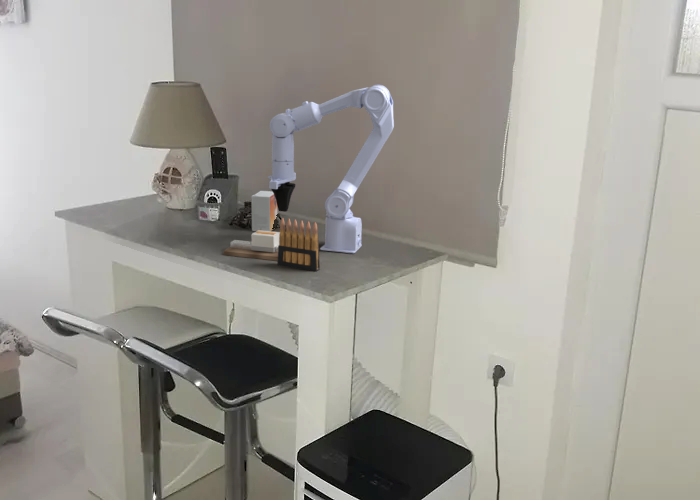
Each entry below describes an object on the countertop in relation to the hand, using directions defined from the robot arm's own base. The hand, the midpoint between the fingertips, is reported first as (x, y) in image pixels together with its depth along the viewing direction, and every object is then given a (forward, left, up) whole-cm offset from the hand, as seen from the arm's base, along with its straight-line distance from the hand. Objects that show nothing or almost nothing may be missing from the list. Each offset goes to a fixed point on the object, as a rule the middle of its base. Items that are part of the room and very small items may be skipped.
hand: (283, 210), depth 185 cm
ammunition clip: (-10, +17, -10) cm, 22 cm away
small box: (+11, -14, -10) cm, 20 cm away
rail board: (+2, +10, -9) cm, 13 cm away
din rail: (+2, +10, -9) cm, 13 cm away
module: (+1, +10, -8) cm, 13 cm away
